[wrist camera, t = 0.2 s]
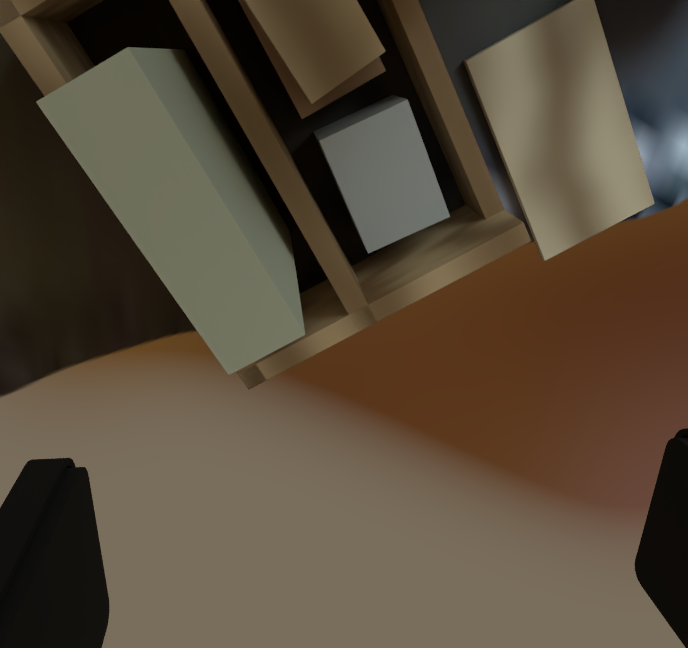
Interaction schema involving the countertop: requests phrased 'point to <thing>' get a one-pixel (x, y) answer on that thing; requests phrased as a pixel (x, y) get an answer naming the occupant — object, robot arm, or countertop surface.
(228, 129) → the sage panel
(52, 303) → the countertop surface
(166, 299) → the countertop surface
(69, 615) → the robot arm
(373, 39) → the offcut pine
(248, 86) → the oak rack
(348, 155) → the offcut grey
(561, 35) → the cork board
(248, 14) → the offcut walnut
